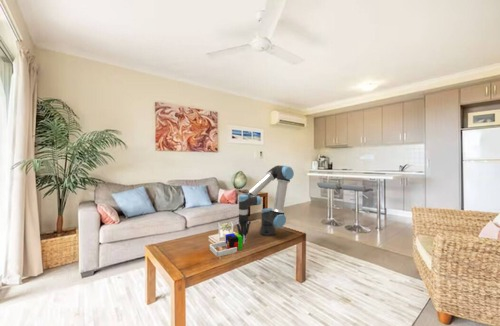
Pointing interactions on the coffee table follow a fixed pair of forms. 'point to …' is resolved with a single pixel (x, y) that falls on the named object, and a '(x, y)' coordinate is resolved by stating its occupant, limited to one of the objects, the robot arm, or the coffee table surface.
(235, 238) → the puzzle toy
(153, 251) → the coffee table surface
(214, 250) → the tray
